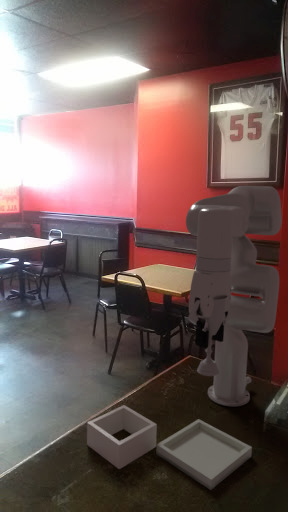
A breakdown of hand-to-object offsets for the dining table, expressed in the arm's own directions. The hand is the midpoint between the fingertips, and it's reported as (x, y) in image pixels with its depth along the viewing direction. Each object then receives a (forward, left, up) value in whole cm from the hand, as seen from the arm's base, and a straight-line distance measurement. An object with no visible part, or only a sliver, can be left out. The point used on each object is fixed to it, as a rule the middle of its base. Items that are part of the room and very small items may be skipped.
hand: (209, 342), depth 93 cm
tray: (0, 0, -28) cm, 28 cm away
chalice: (0, 0, -7) cm, 7 cm away
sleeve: (+12, -16, -28) cm, 35 cm away
